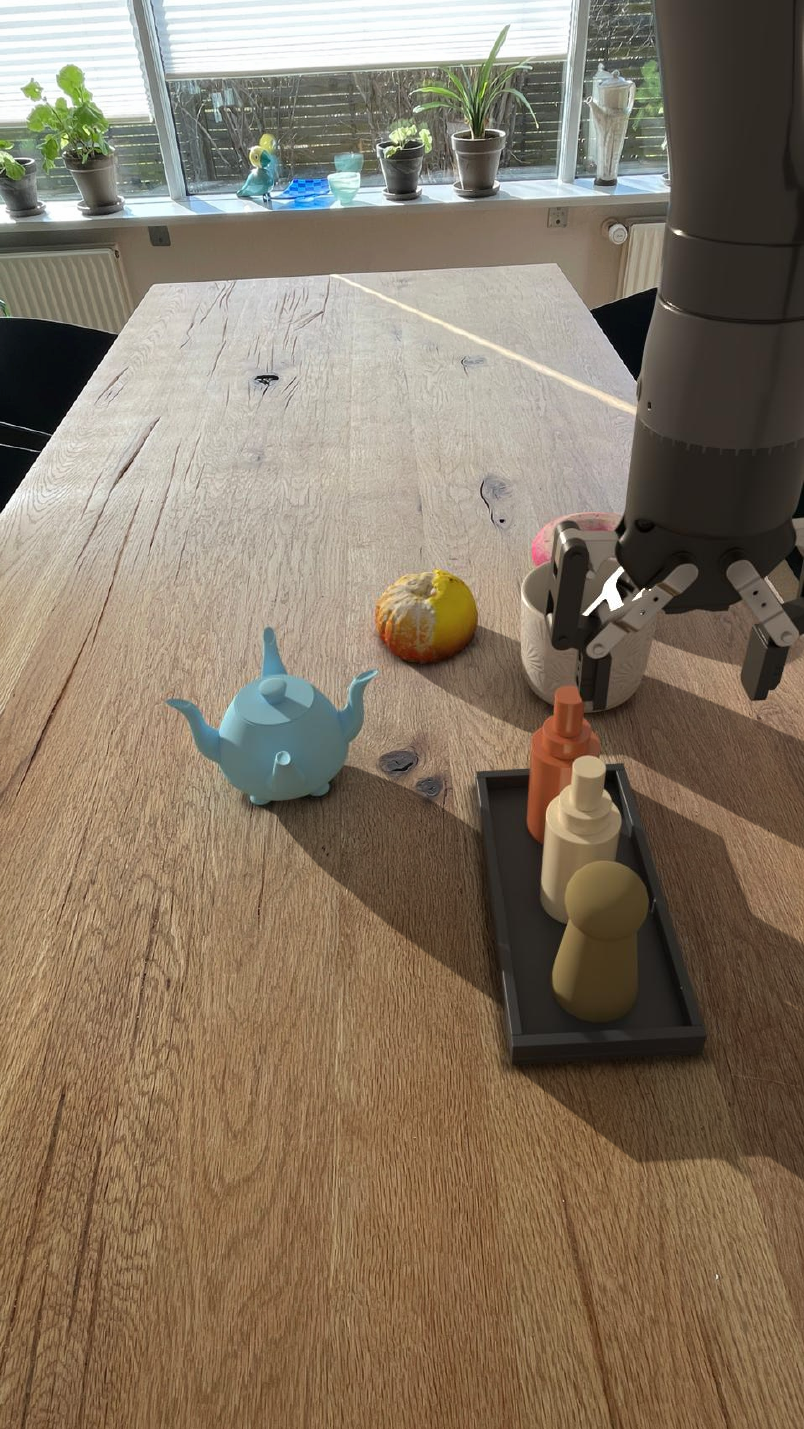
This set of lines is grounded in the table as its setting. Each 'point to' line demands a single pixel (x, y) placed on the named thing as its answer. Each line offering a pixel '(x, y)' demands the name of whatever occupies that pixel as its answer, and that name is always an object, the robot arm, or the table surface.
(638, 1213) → the table surface
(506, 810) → the tray
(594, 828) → the cream bottle
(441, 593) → the fruit
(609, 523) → the donut
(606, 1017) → the pepper shaker
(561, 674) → the planter
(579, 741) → the terracotta bottle
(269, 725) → the teapot
